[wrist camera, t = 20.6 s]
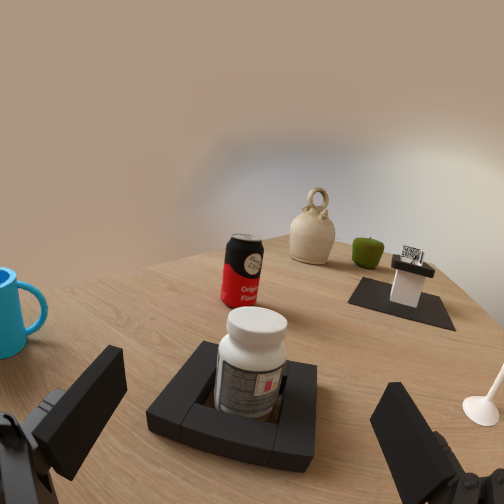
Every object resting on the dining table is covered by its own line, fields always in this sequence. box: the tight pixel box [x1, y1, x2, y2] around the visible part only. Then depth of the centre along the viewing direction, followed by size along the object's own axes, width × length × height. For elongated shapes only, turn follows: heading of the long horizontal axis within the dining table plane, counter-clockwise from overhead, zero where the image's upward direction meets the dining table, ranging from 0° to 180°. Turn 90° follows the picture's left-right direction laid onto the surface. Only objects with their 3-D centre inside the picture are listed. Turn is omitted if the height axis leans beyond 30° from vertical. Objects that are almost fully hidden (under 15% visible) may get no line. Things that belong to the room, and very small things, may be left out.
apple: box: [352, 237, 384, 269], centre depth 96 cm, size 12×12×11 cm
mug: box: [0, 267, 48, 359], centre depth 21 cm, size 12×8×8 cm
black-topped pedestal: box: [348, 245, 456, 331], centre depth 60 cm, size 28×26×13 cm
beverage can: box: [220, 234, 264, 308], centre depth 47 cm, size 6×6×12 cm
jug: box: [290, 188, 335, 265], centre depth 91 cm, size 15×16×25 cm
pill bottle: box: [214, 307, 288, 421], centre depth 22 cm, size 6×6×10 cm
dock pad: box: [146, 341, 317, 472], centre depth 23 cm, size 13×13×2 cm
